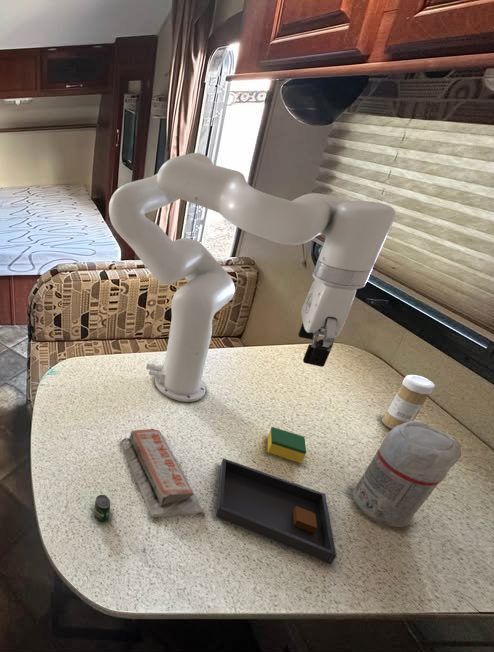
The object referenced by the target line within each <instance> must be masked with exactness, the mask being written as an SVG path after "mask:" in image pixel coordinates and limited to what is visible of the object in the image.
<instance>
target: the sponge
mask: <svg viewBox="0 0 494 652" xmlns="http://www.w3.org/2000/svg"><path fill="white" fill-rule="evenodd" d="M267 435H268V436H267V453H269V454H271V455H275V456H278V457H281V458H284V459H287V460H290V461H292V462H296V463H299V464H302V463H303V460H304V458H305V457H306V454H307V445H306V440H305V439H306V438H305V436H304V435H300V434H297V433H294V432H291V431H287V430H285V429H282V428H281V429H280V428H279V427H278V428H277V427H274V426H271V428H270V430H269V433H268V434H267Z"/></svg>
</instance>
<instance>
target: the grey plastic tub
mask: <svg viewBox="0 0 494 652" xmlns="http://www.w3.org/2000/svg"><path fill="white" fill-rule="evenodd" d="M461 457H462V445H461V443H460V442H459V441H457V440H456V439H454V438H453V437H451V436H450V435H448V434H447V433H446V432H445V431H443V430H440V429H437V428H435V427H433V426H431V425H429V424H428V423H425V422H424V421H416V420H413V421H409V422H407V423H403V424H401V425H398V426H396V427H394V428H393V429H391V430H390V431H389V432H388V433H387V434H386V435H385V437H384V438H383V440H382V441H381V443H380V446H379V448H378V449H377V451H376V452H375V455H374V456H373V458H372V459H371V462H370V464H368V467H367V468H366V469H365V471H364V473H363V475H362V476H361V477H360V479H359V480H358V482H357V484H356V486H355V487H354V488H353V489H352V490H351V491H352V492H351V495H352V498H353V500H354V502H355V503H356V505H357V506H358V508H359V509H361V511H362V512H363V513H364V514H366V515H367V516H368V517H370V518H371V519H372V520H375V521H377V522H378V523H381V524H383V525H386V526H391V527H396V528H402V527H404V528H405V527H407V526H410V524H411V520H412V519H413V517H414V516H415V515H416V513H417V512H418V511H419V509H420V508H421V507H422V505H424V503H425V502H426V501H427V499H428V498H429V497H430V496H431V495H432V494H433V492H434V490H435V488H436V487H437V486H438V485H439V484H440V483H441V482H442V481H444V480H445V478H447V475H448V473H449V471H450V470H451V469H452V468H453V466H454V465H455V464H457V463H458V461H459V459H461Z"/></svg>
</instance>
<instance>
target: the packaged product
mask: <svg viewBox="0 0 494 652" xmlns="http://www.w3.org/2000/svg"><path fill="white" fill-rule="evenodd" d="M121 444H122V447H123V449H124V451H125V454H126V458H127V461H128V463H129V465H130V469H131V472H132V474H133V477H134V479H135V481H136V484H137V486H138V488H139V490H140V493H141V495H142V498H143V500H144V502H145V504H146V507H147V509H148V512H149V513H150V516H151V517H152V518H163V517H165V518H166V517H175V516H177V517H178V516H187V515H196V514H200V513H203V511H204V509H203V507H202V506H201V503H200V502H199V499H198V498H197V496H196V494H195V493H194V491H193V489H192V487H191V485H190V483H189V481H188V480H187V479H188V478H187V477H186V476H185V474H184V472H183V470H182V468H181V466H180V464H178V462H177V459H176V457H175V456H174V454H173V452H172V451H171V449H170V446H169V445H168V443H167V441H166V439H165V437H164V435H163V434H162V432H161V431H160V430H159V429H155V428H150V429H149V428H147V429H136V430H135V429H134V430H133V429H132V430H131V432H130V435H129V437H128V438H127V437H124V438H123V439H122V440H121Z"/></svg>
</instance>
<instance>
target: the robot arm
mask: <svg viewBox="0 0 494 652" xmlns="http://www.w3.org/2000/svg"><path fill="white" fill-rule="evenodd" d="M178 200H182V201H185V202H188V203H191V204H193V205H197V206H198V207H199V206H200V207H203V208H205V209H208V210H211V211H213V212H216V213H218V214H220V215H221V216H222V217H223V218H224V219H225V220H227V221H228V222H230V224H232V225H234V226H235V227H237V228H238V229H240V230H242V231H244V232H247V233H249V234H251V235H254V236H257V237H259V238H262V239H265V240H268V241H271V242H273V243H277V244H281V245H286V246H287V245H288V246H298V245H303V244H306V243H308V242H310V241H312V240H314V239H315V238H316V237H317V236H324V237H325V239H324V242H323V244H322V247H321V251H320V253H319V256H318V258H317V261H316V264H315V267H314V269H313V272H312V275H311V276H312V278H313V281H312V283H311V286H310V288H309V289H308V290H309V291H308V293H307V295H306V297H305V300H304V302H303V305H302V307H301V311H300V315H301V320H302V324H301V326H300V328H299V330H298V331H299V332H298V333H297V334H298V337H299V338H301V339H306V340H311V343H309V344H308V345H307V349H306V351H305V354H304V357H303V359H302V362H303V363H304V364H307V365H312V366H316V367H320V368H323V367H325V364H326V363H327V360H328V358H329V356H330V353H331V351H332V349H333V346H334V343H335V341H336V338H337V337H339V335H340V334H341V332H342V330H343V328H344V325H345V324H346V321H347V319H348V316H349V313H350V311H351V308H352V305H353V303H354V300H355V297H356V293H357V290H359V289H362V288H365V287H366V284H367V282H368V280H369V278H370V275H371V273H372V271H373V268H374V267H375V265H376V262H377V259H378V257H379V255H380V253H381V251H382V248H383V246H384V244H385V241H386V239H387V236H388V235H389V232H390V231H391V228H392V225H393V223H394V221H395V218H396V210H395V209H394V207H392V206H390V205H388V204H385V203H382V202H376V201H368V200H350V199H344V198H340V197H337V196H333V195H330V194H325V193H319V192H316V193H315V192H312V193H306V194H303V195H300V196H299V197H297V198H294V199H293V200H289V199H286V198H283V197H278V196H276V195H271V194H269V193H267V192H263V191H261V190H259V189H256V188H255V187H252V185H250V183H248V182H247V180H246V178H245V174H243V173H242V172H240V171H238V170H235V169H231V168H227V167H223V166H220V165H216V164H214V163H213V161H212V160H211V158H209V157H208V156H207V155H205V154H203V153H200V152H199V153H198V152H192V153H187V154H183V155H178V156H175V157H172V158H169V159H168V160H166V161H165V162H164V163H163V164H162V165H161V166H160V167H159V170H158V171H157V173H156V174H154V175H152V176H149V177H145V178H142V179H138V180H133V181H130V182H128V183H125V184H123V185H121V186H119V187H118V188H117V189H116V190H114V192H113V194H112V195H111V197H110V199H109V203H108V216H109V220H110V222H111V226H112V227H113V229H114V230H115V232H116V233H117V234H118V235H119V236H120V237H121V238H122V239H123V240H124V242H125V243H126V244H127V245H128V246H129V247H130V248H131V249H132V250H133V251H134V253H135V254H136V256H137V257H138V258H139V259H140V261H141V262H142V263H143V265H144V266H145V267H146V269H148V270H149V272H150V273H151V274H152V276H153V277H154V278H155V279H156V280H157V281H158V282H159V283H162V284H163V285H172V284H173V285H174V284H175V283H178V282H180V281H181V280H183V279H185V281H187V282H185V283H184V284H183V285H181V286H180V287H179V288H178V289H177V290H176V291H175V292H174V294H173V296H172V299H171V304H170V307H171V321H170V329H169V334H168V340H167V347H166V352H165V358H164V362H163V364H155V363H151V362H147V363H146V367H145V369H146V370H149V371H148V375H149V376H153V377H155V379H154V384H155V387H157V390H159V391H160V392H161V393H162V394H163V395H164V396H166V397H168V398H170V399H172V400H175V401H178V402H184V403H189V402H197V401H199V400H201V399H202V398H203V397H204V396H205V392H206V385H205V383H204V381H203V380H202V378H203V374H204V370H205V365H206V361H207V357H208V353H209V349H210V344H211V341H212V335H213V320H214V316H215V315H216V314H217V312H219V311H220V310H221V309H222V308H223V307H225V306H226V305H227V304H228V303H229V302H230V301H231V300H232V299H234V296H235V293H236V286H235V283H234V280H233V279H232V278H231V276H230V274H229V273H228V272H227V271H226V270H225V268H224V267H223V266H222V265H221V263H220V262H218V261H217V259H216V258H215V257H214V256H213V255H212V253H211V252H210V251H209V250H208V249H207V248H206V247H205V246H204V245H203V244H202V243H200V242H199V241H197V240H195V239H193V238H189V237H183V238H182V237H181V238H178V239H175V240H172V238H170V237H169V236H168V235H167V234H166V232H165V231H164V230H163V229H162V227H161V226H159V225H158V224H157V223H156V222H154V221H152V220H151V219H149V218H147V217H146V214H148V213H151V212H154V211H156V210H158V209H161V208H163V207H166V206H168V205H170V204H172V203H174V202H177V201H178ZM322 330H324V331H322ZM319 337H322V339H321V338H320V339H319Z"/></svg>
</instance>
